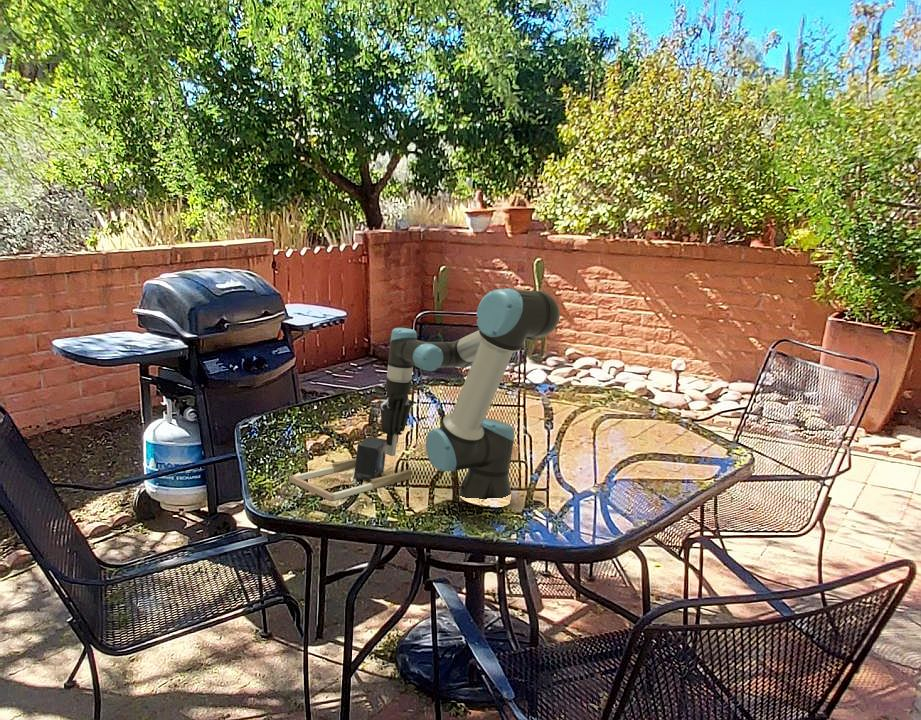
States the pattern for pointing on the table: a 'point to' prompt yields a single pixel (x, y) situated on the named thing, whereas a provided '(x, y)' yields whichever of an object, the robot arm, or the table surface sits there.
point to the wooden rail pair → (377, 481)
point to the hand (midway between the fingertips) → (390, 454)
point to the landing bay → (300, 482)
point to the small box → (370, 458)
